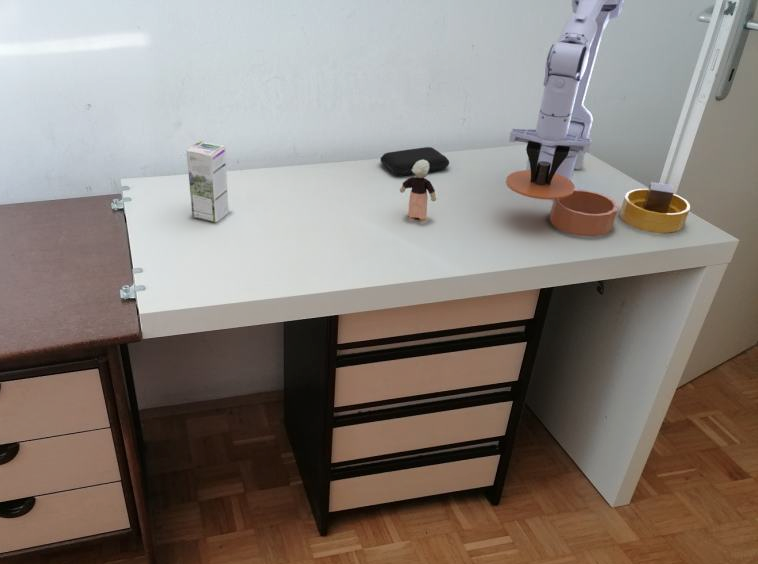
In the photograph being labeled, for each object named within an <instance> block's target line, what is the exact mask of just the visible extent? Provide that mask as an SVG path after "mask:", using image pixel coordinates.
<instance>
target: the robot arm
mask: <svg viewBox="0 0 758 564" xmlns="http://www.w3.org/2000/svg"><path fill="white" fill-rule="evenodd" d="M625 1H626V0H571V8H572V12H573V15H571V16H569V17H568V18H567V19H566V21H565V22H564V25H563V28H562V30H561V32H560V35H559V37H558V40H557V42H556V43H555V44H554V43H552V44H551V45H550V48H549V50H548V53H547V56H546V60H545V67H544V79H543V87H544V89H543V93H542V98H541V102H540V107H539V112H538V117H537V121H536V126H535V127H536V128H535V129H533V128H532V129H531V128H530V129H529V128H524V129H523V128H511V130H510V134H509V139H508V142H509V143H515V142H520V143H526V144H527V145H526V148H525V152H526V155H527V158H528V159H527V163H526V167H525V168H526V169H525V170H531V181H530V182H534V181H535V176H536V171H537V166H538V162H540V161H546V162H549V163H551V167H550V173H549V176H548V179H547V185H550V184H551V181H552V178H553V176H554V174H559V175H561V176H564V177H566V178H568V179H569V180H570V181H572V178H573V175H574V170H575V169H574V167H575V163H576V159H577V155H578V153H582V152H585V153H589V151H590V148H591V143H592V138H590V136H591V132H592V127H591V125H592V126H593V123H594V117H593V115H592V113H591V111H590V110H588V109H587V107H585V105H584V103H585V99H586V95H587V91H588V88H589V84H590V80H591V77H592V73H593V69H594V67H595V62H596V58H597V56H598V52H599V48H600V44H601V41H602V37H603V33H604V30H605V29H606V27H607V25H608V23H609V21H610V20H613V19H616V18H618V17H620V14H621V12H622V11H623V9H624V5H625ZM592 117H593V118H592ZM571 118H574V119H580V120H582V121H583V122H584V123H583V122H577V121H571ZM592 122H593V123H592ZM575 190H578V188H577V187H575Z"/></svg>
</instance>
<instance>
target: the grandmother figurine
mask: <svg viewBox="0 0 758 564" xmlns="http://www.w3.org/2000/svg"><path fill="white" fill-rule="evenodd" d="M429 168H430V167H429V163H428V161H426V160H419V161H418V162H416V163H415V165H414V166H413V169H412V172H413V173H415V174H414V175H415V176H411V177H409V178H407V179H406V180H404V181H403V182H402V185H401V187H400V188H399V193H405V192H406V190H407V189H411V190H410V194H409V198H408V210H407V211H408V213H407V215H408V219H409V220H414V219H416V218H417V219H418V221H419V222H426V221H429V219H430V218H429V217H428V216H427V214H428V194H429V196H430V201H432V202H436V201H437V196H436V193H435V192H436V189H435V187H434V186H433V184H432V182H431V181H430V180H429V179H427V178H426V177H427V176H428V174H429V172H428V171H429Z"/></svg>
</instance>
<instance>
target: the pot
mask: <svg viewBox="0 0 758 564" xmlns="http://www.w3.org/2000/svg"><path fill="white" fill-rule="evenodd" d="M552 200H553V201H552V205H551V209H550V213H549V221H550V223H551V225H553V226H554V227H555V228H557V229H558V230H560V231H563V232H564V233H567V234H572V235H576V236H580V237H581V236H582V237H599V236H604V235H607V234H608V233H610V232H612V229H613V226H614V223H615V220H616V216H617V213H618V210H619V205H618V204H617V202H616V200H614V199H613V198H611V197H610V196H608V195H605V194H603V193H600V192H597V191H592V190H586V189H577V190H574V193H573V194H572V195H570V196H568V197H566V198H561V199H552Z"/></svg>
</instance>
